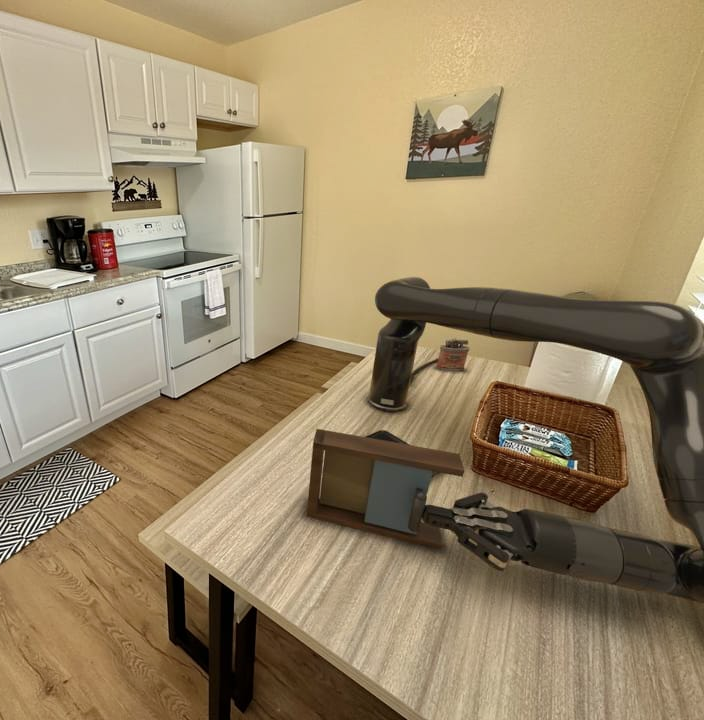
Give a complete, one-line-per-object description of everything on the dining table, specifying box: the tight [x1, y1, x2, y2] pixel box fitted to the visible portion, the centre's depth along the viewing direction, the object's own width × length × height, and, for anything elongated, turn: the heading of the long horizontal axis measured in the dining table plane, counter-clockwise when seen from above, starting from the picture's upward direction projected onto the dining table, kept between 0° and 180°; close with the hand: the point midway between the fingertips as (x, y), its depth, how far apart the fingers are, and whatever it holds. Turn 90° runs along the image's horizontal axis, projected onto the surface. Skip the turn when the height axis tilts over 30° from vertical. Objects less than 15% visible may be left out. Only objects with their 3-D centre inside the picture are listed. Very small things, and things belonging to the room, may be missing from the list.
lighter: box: [435, 338, 470, 373], centre depth 118 cm, size 8×3×10 cm, turn 80°
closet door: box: [364, 460, 433, 535], centre depth 60 cm, size 4×8×13 cm, turn 70°
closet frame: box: [306, 428, 466, 551], centre depth 63 cm, size 4×21×16 cm, turn 70°
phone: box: [365, 429, 439, 477], centre depth 82 cm, size 8×1×15 cm
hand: (422, 513), depth 58 cm, fingers closed
